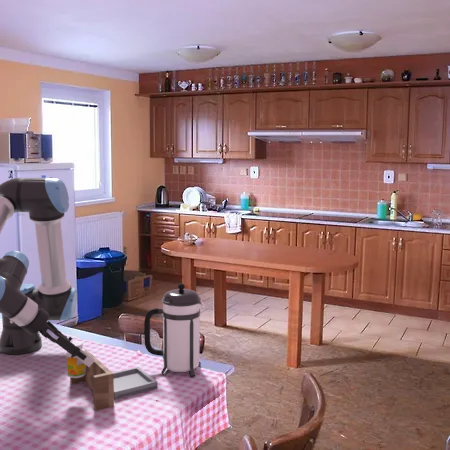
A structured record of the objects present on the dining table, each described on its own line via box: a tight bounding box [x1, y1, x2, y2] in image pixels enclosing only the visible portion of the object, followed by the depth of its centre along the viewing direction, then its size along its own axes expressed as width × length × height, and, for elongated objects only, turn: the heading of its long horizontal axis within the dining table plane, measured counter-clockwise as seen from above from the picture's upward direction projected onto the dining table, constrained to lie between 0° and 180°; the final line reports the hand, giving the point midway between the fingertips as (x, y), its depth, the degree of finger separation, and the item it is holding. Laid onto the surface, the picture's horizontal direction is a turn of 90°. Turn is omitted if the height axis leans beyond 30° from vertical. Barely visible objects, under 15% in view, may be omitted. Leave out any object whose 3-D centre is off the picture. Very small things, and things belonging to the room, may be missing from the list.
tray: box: [112, 366, 158, 400], centre depth 175 cm, size 14×14×2 cm
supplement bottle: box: [66, 340, 86, 379], centre depth 165 cm, size 5×5×10 cm
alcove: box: [69, 349, 115, 412], centre depth 168 cm, size 22×6×10 cm, turn 33°
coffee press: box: [143, 282, 206, 378], centre depth 185 cm, size 17×16×30 cm
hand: (88, 359), depth 167 cm, fingers closed on supplement bottle, 5 cm apart
